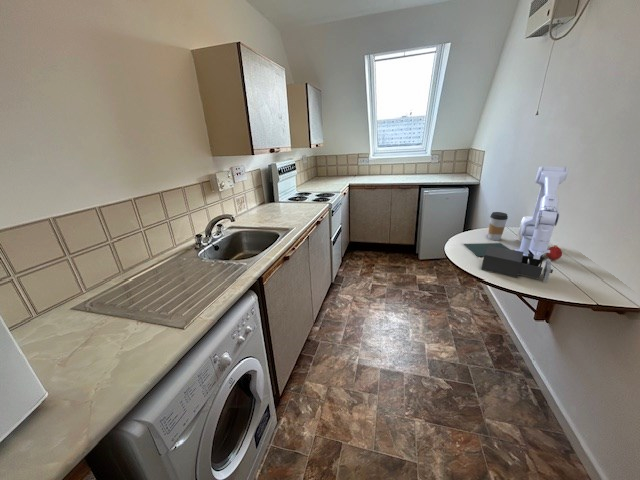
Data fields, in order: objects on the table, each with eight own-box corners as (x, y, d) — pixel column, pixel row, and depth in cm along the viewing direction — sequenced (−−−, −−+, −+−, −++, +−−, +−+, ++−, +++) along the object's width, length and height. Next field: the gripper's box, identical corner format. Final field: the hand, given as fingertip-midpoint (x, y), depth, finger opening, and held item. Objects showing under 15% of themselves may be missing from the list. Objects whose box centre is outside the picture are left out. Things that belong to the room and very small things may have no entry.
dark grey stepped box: (519, 266, 123) (523, 251, 120) (517, 278, 114) (521, 262, 111) (485, 259, 131) (488, 245, 128) (481, 269, 122) (484, 254, 119)
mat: (500, 243, 148) (500, 243, 148) (519, 256, 133) (519, 255, 133) (463, 244, 149) (463, 243, 149) (478, 257, 134) (478, 256, 134)
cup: (538, 245, 144) (546, 220, 139) (524, 246, 144) (530, 221, 138) (526, 239, 152) (532, 215, 147) (512, 240, 152) (518, 216, 146)
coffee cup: (505, 240, 151) (511, 215, 145) (490, 241, 151) (496, 216, 146) (497, 235, 159) (502, 211, 153) (482, 236, 159) (487, 211, 153)
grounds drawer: (550, 272, 116) (554, 260, 114) (550, 283, 108) (554, 270, 106) (512, 263, 124) (515, 252, 122) (510, 273, 116) (513, 262, 114)
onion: (551, 257, 131) (555, 242, 128) (562, 262, 126) (568, 246, 122) (541, 258, 130) (545, 243, 127) (552, 263, 125) (557, 248, 122)
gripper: (553, 247, 102) (543, 277, 107) (553, 235, 113) (544, 263, 118) (530, 243, 106) (522, 272, 111) (532, 232, 117) (524, 260, 122)
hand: (532, 268), depth 115 cm, fingers closed on container, 4 cm apart
